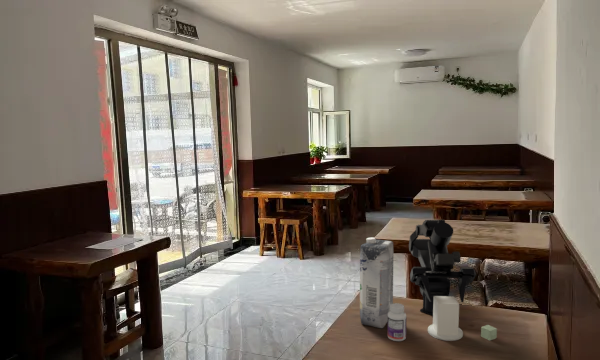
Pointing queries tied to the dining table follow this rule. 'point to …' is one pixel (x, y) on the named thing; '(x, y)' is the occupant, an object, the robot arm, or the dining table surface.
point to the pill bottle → (397, 322)
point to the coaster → (445, 337)
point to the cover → (445, 315)
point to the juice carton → (376, 281)
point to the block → (488, 332)
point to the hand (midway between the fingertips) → (446, 301)
